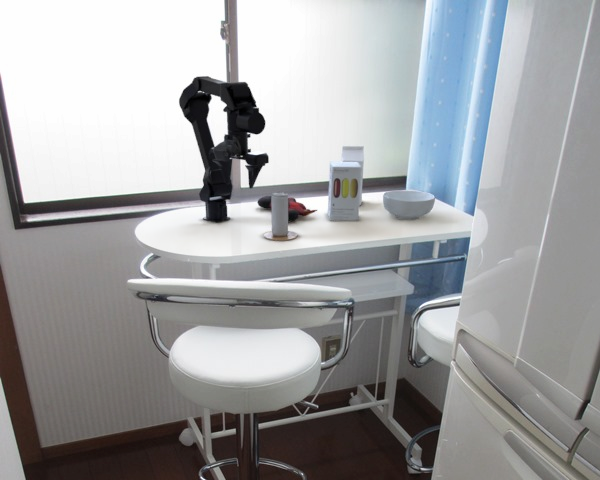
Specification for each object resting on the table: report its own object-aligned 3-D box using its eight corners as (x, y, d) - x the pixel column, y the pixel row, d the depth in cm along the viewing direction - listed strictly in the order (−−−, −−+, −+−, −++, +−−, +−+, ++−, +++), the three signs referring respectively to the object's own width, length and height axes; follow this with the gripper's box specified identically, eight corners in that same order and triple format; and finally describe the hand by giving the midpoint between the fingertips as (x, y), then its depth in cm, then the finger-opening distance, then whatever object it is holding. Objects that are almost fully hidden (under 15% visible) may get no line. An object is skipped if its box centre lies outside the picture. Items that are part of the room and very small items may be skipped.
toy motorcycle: (278, 228, 216) (325, 216, 219) (275, 212, 213) (323, 200, 216) (257, 211, 237) (300, 201, 240) (254, 196, 234) (298, 186, 237)
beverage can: (271, 232, 206) (270, 191, 200) (287, 232, 206) (287, 191, 200) (272, 237, 201) (271, 195, 195) (288, 236, 202) (288, 195, 196)
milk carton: (361, 205, 238) (364, 148, 228) (340, 205, 238) (342, 148, 229) (360, 201, 244) (362, 144, 235) (340, 200, 244) (342, 144, 235)
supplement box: (329, 221, 219) (331, 166, 211) (327, 213, 227) (328, 161, 219) (359, 221, 220) (362, 166, 212) (355, 213, 228) (358, 161, 220)
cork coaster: (256, 236, 203) (256, 235, 203) (278, 229, 210) (278, 228, 210) (283, 243, 198) (283, 241, 197) (304, 235, 205) (304, 234, 204)
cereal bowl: (441, 221, 220) (443, 199, 216) (392, 225, 216) (394, 202, 212) (420, 209, 234) (422, 188, 230) (374, 212, 230) (375, 190, 227)
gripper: (194, 130, 195) (197, 186, 203) (243, 136, 185) (245, 195, 193) (220, 126, 203) (223, 180, 210) (269, 132, 193) (270, 188, 201)
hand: (239, 186), depth 203 cm, fingers open, 9 cm apart
